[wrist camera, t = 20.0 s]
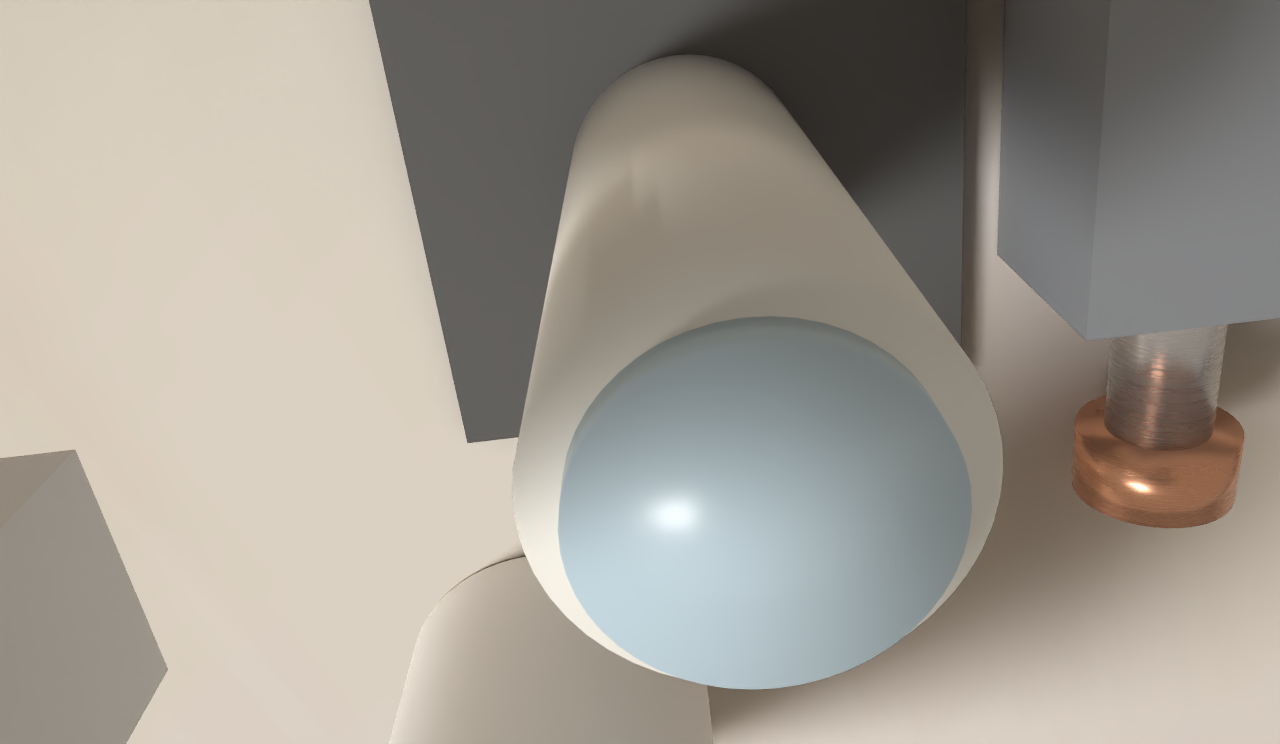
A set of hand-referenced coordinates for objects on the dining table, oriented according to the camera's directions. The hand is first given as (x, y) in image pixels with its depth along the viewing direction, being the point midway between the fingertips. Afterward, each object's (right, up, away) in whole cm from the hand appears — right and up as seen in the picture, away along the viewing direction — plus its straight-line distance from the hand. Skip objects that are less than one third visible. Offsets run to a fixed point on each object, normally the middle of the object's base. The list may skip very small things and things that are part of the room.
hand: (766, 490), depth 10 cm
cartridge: (0, +5, +12) cm, 13 cm away
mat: (0, +6, +13) cm, 14 cm away
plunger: (+10, +4, +13) cm, 17 cm away
